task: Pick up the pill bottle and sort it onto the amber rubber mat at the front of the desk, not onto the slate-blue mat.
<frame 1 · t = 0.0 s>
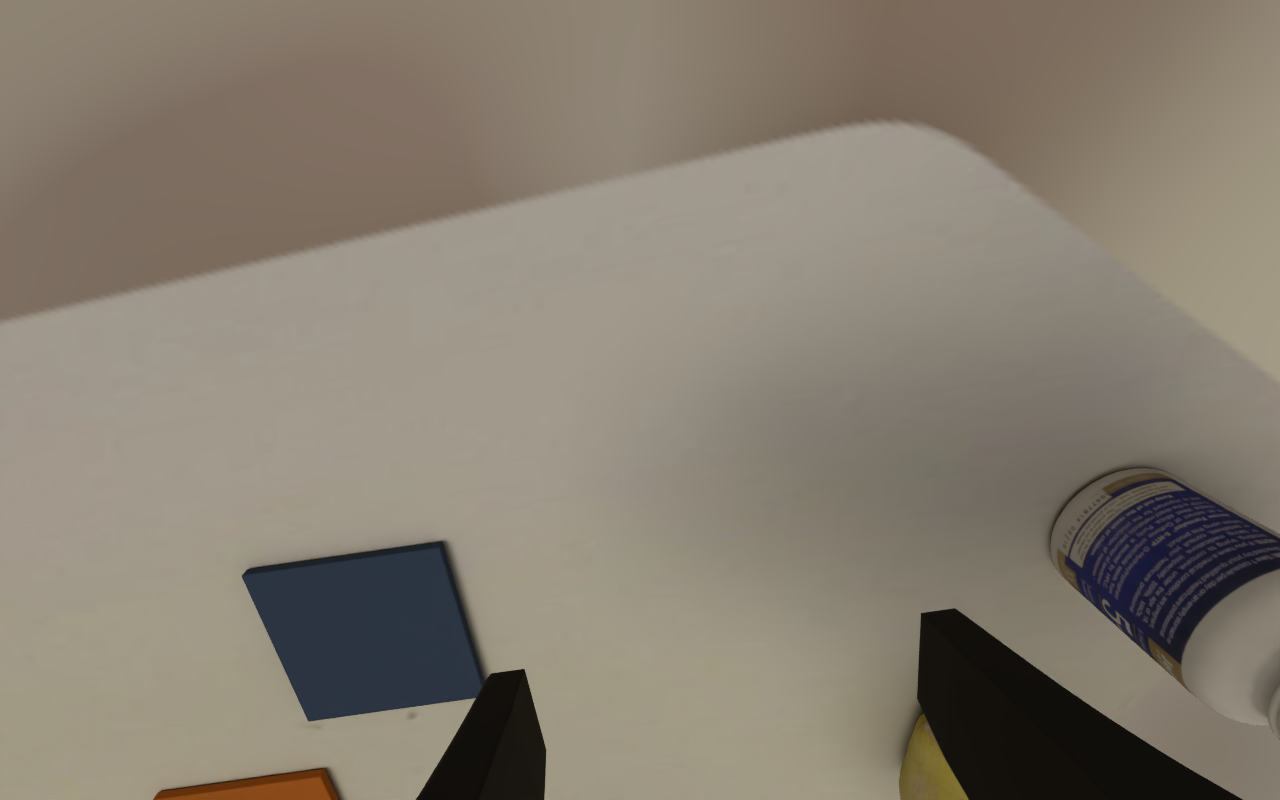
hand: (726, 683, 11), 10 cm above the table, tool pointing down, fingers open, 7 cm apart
pill bottle: (1111, 524, 23), on the table
blue mat: (373, 632, 23), on the table
fruit: (941, 720, 26), on the table
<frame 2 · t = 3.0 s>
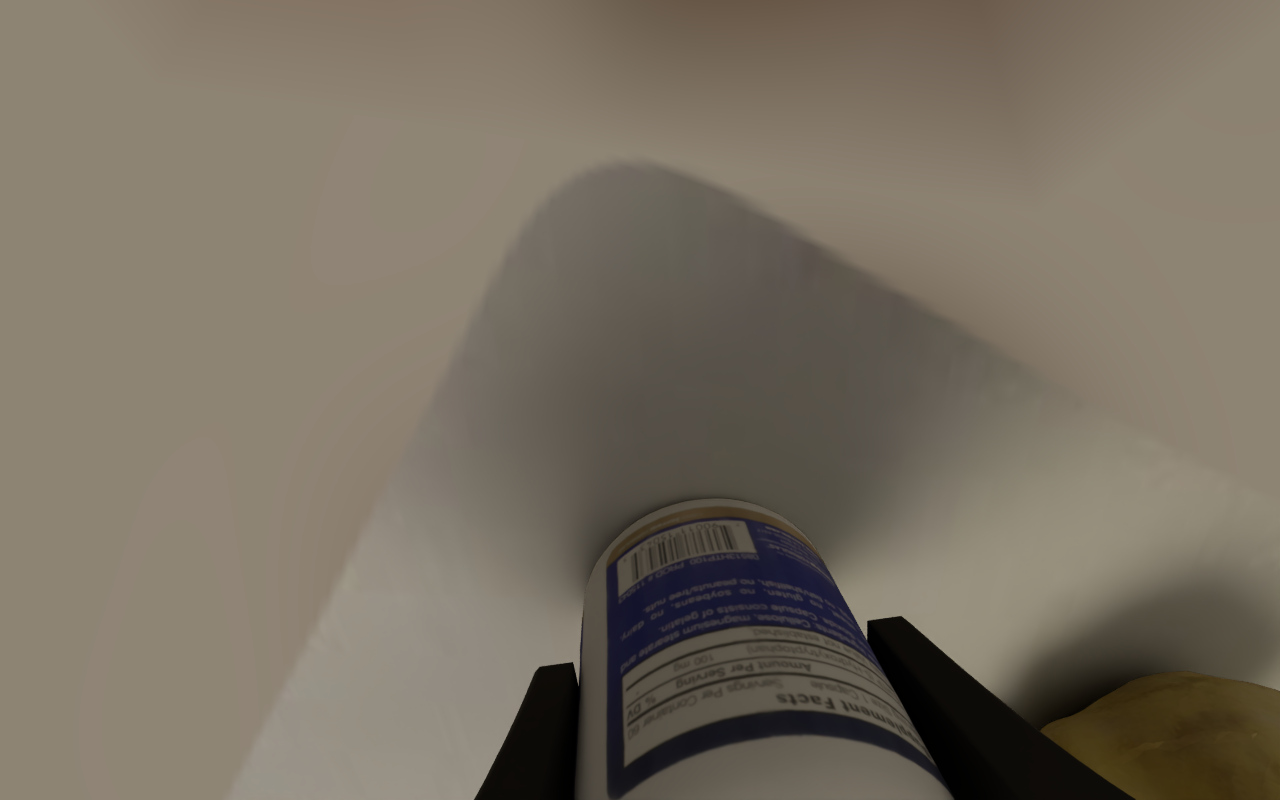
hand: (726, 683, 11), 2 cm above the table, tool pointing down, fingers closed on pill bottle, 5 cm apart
pill bottle: (704, 589, 13), on the table, touching gripper
fruit: (1072, 728, 15), on the table
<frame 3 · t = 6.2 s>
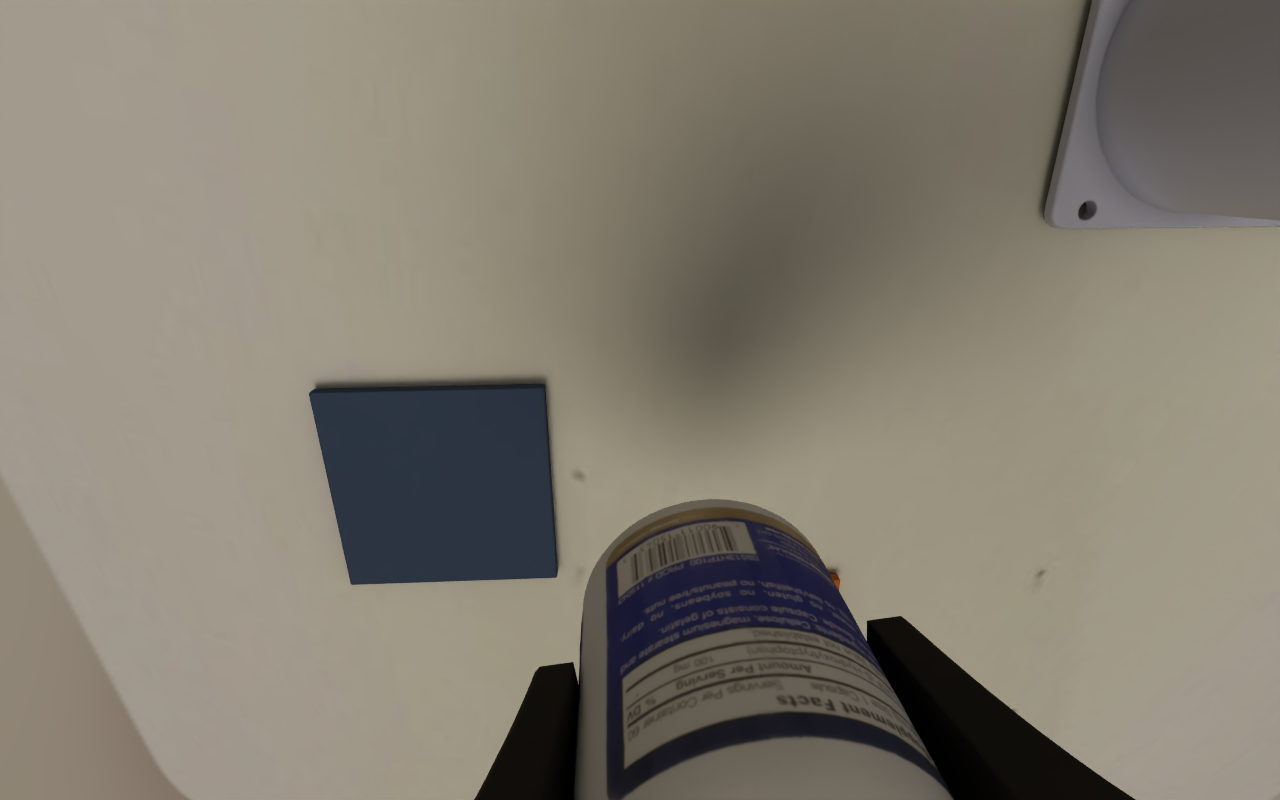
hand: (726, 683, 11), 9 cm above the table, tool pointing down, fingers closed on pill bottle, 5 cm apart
pill bottle: (703, 590, 13), point 7 cm above the table, touching gripper
blue mat: (444, 486, 20), on the table
when the fingers open (3 cm above the table, at t = 9.4 s): pill bottle stays where it is, resting on amber mat.
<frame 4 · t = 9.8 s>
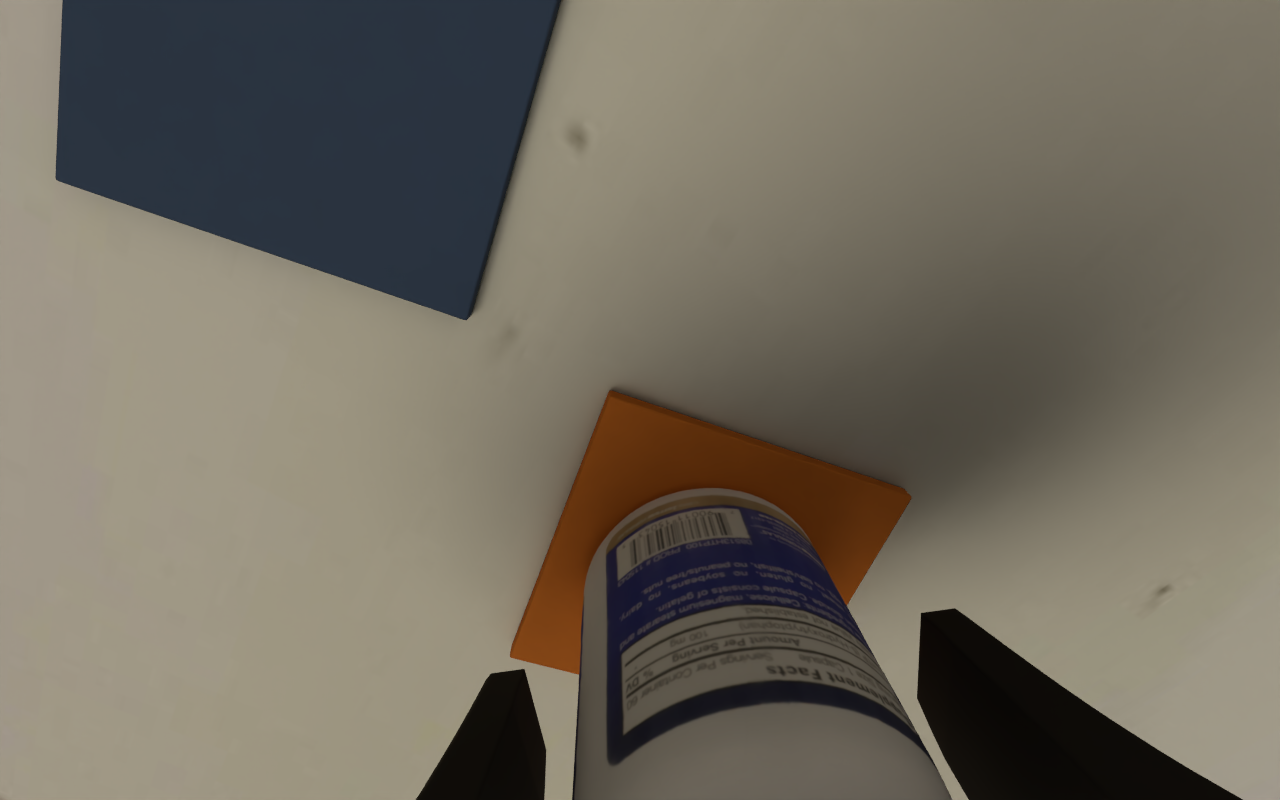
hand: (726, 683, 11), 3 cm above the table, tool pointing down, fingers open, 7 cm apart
pill bottle: (700, 576, 14), resting on amber mat
blue mat: (317, 47, 10), on the table
amber mat: (700, 569, 14), on the table
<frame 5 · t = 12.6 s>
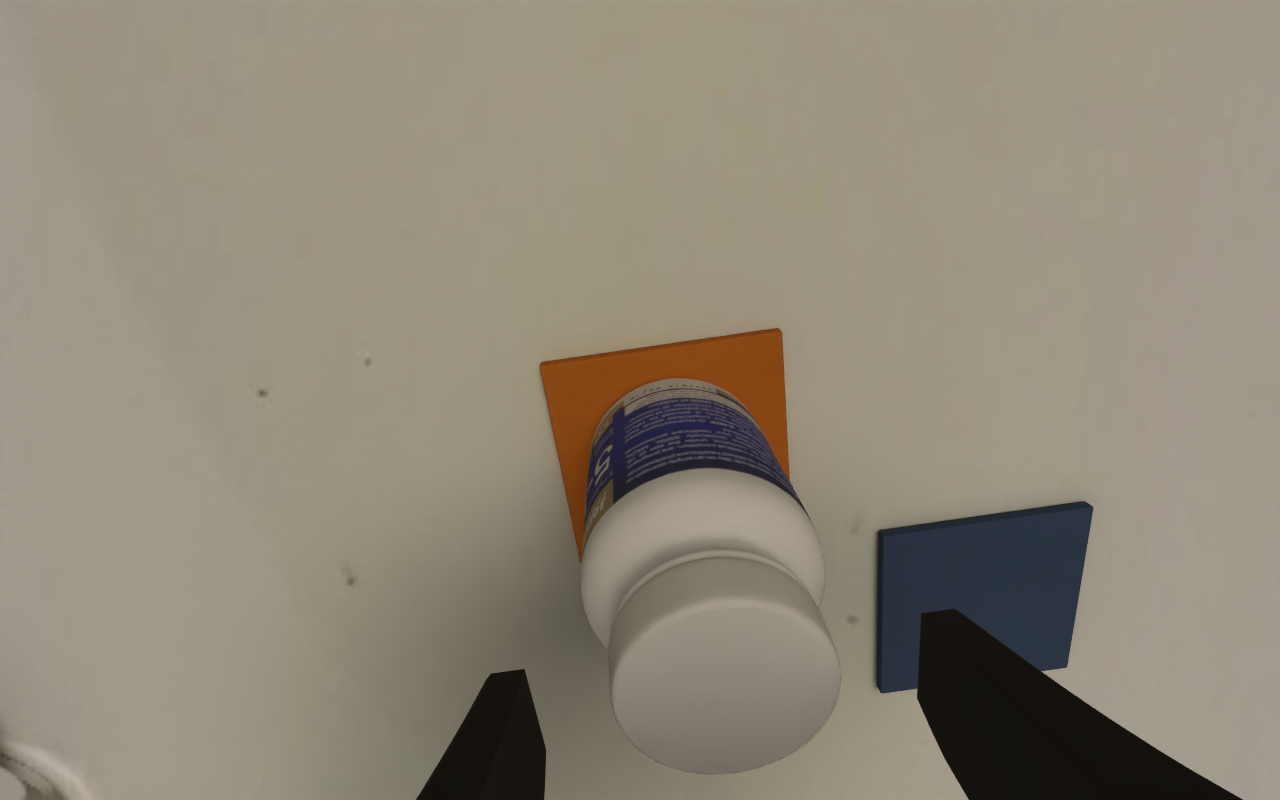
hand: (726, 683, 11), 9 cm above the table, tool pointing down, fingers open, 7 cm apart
pill bottle: (674, 453, 19), resting on amber mat
blue mat: (974, 598, 21), on the table
amber mat: (673, 451, 19), on the table
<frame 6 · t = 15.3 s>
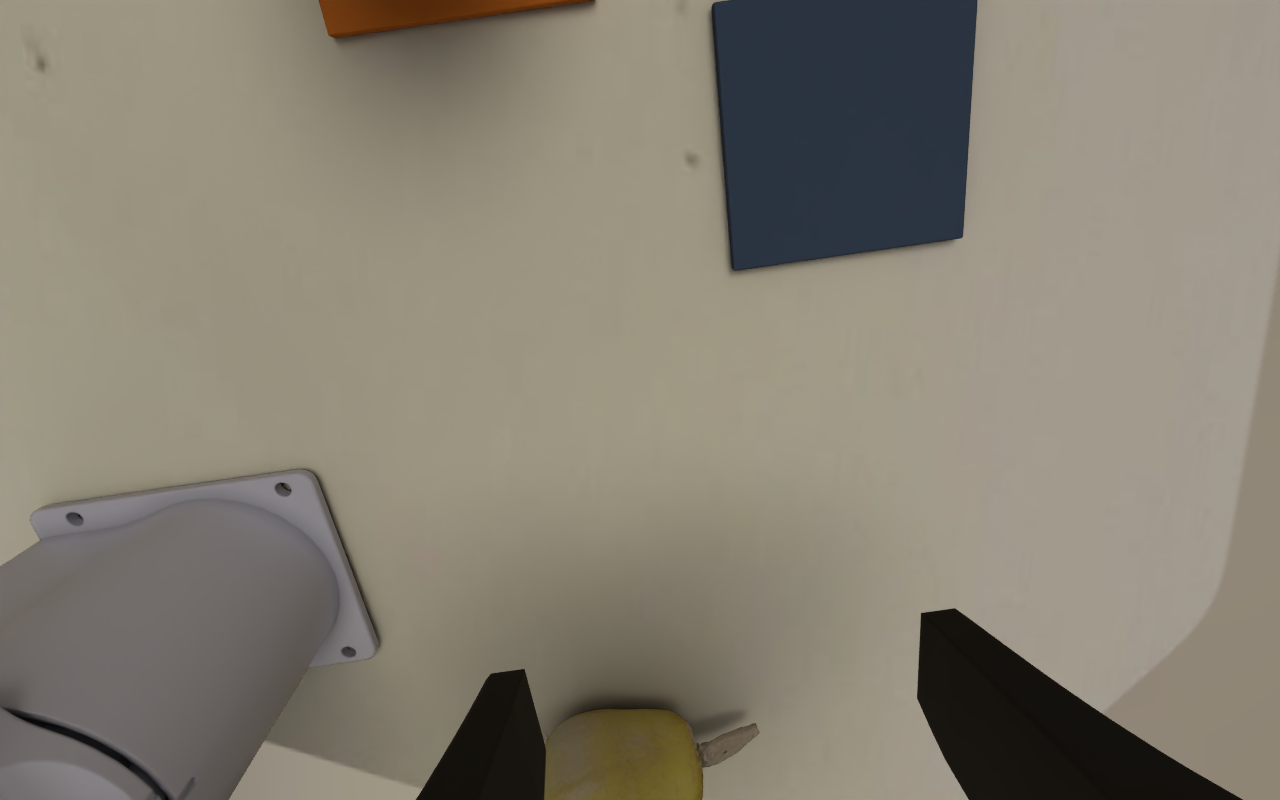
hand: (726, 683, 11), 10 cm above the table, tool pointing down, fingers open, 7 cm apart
blue mat: (842, 129, 17), on the table
fruit: (636, 723, 26), on the table
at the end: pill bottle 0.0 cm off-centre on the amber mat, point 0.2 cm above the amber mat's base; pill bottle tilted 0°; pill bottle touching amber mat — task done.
